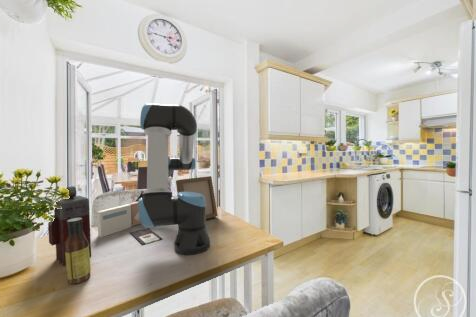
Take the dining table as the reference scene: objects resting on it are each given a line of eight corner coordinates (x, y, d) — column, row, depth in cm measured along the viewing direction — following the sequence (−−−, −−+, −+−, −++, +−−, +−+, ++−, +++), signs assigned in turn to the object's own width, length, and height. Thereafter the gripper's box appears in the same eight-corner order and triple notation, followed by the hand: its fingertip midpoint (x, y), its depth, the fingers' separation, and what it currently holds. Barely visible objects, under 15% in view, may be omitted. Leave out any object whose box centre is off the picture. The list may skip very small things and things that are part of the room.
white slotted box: (101, 237, 105) (100, 212, 104) (98, 235, 106) (97, 211, 106) (132, 226, 119) (131, 204, 118) (128, 225, 120) (128, 204, 120)
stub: (132, 226, 119) (132, 204, 118) (129, 225, 121) (128, 203, 120) (145, 221, 126) (144, 201, 125) (142, 220, 127) (141, 200, 127)
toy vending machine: (48, 261, 83) (44, 187, 81) (83, 250, 92) (80, 183, 90) (55, 269, 77) (51, 190, 76) (91, 256, 86) (88, 186, 85)
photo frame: (217, 217, 133) (216, 176, 132) (185, 226, 118) (184, 180, 117) (204, 212, 144) (203, 175, 143) (173, 220, 129) (171, 178, 128)
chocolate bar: (148, 227, 115) (162, 238, 102) (148, 229, 115) (162, 240, 102) (129, 232, 109) (142, 243, 96) (129, 234, 109) (142, 246, 96)
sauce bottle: (95, 273, 74) (92, 215, 73) (82, 284, 68) (80, 222, 67) (75, 273, 74) (72, 216, 73) (61, 285, 68) (58, 222, 67)
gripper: (170, 189, 132) (147, 224, 119) (150, 186, 141) (127, 219, 127) (162, 181, 127) (138, 217, 114) (143, 179, 136) (118, 212, 123)
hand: (132, 218), depth 121 cm, fingers open, 4 cm apart
